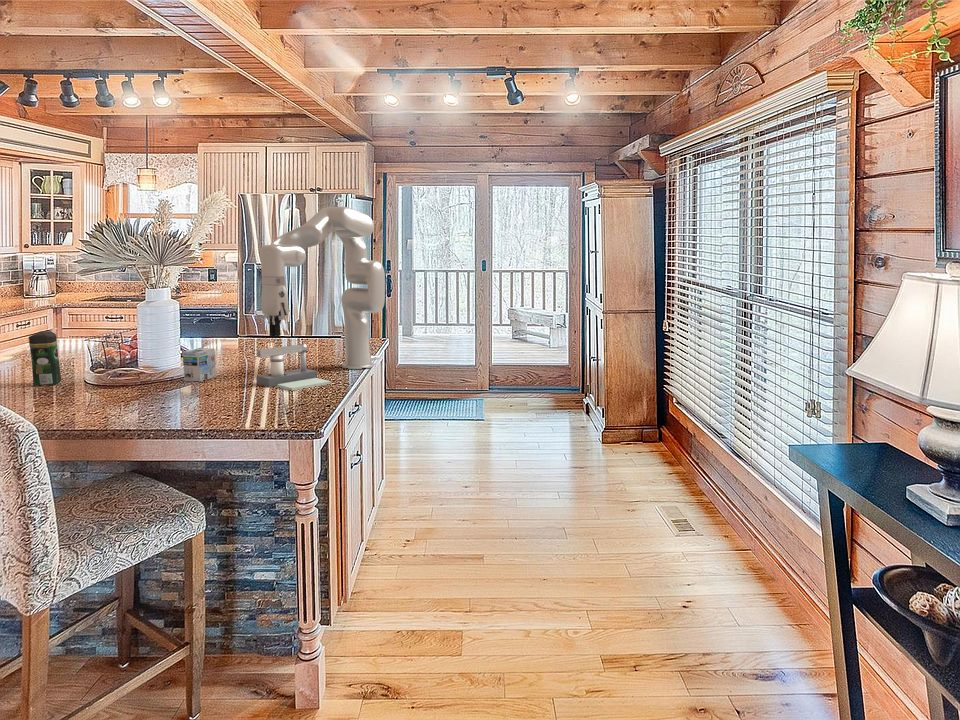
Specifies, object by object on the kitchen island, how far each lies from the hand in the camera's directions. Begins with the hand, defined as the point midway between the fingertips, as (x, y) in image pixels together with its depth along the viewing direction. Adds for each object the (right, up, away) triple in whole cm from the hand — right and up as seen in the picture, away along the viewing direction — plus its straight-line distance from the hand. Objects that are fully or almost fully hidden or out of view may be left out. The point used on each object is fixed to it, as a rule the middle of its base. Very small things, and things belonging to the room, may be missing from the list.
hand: (274, 335), depth 245 cm
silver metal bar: (0, -6, +11) cm, 12 cm away
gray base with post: (+1, -16, +14) cm, 21 cm away
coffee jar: (-82, -17, +7) cm, 84 cm away
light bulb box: (-32, -15, +17) cm, 40 cm away
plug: (-2, -16, +11) cm, 20 cm away
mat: (+8, -17, +7) cm, 20 cm away
